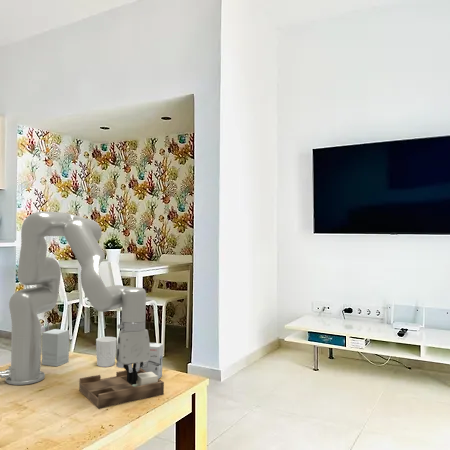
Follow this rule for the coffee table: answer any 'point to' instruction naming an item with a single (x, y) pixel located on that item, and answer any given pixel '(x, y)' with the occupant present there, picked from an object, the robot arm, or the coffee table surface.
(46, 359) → the supplement box
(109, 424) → the coffee table surface
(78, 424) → the coffee table surface
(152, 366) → the ink box
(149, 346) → the robot arm
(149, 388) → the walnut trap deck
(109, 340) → the light grey cylinder
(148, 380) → the ivory block
